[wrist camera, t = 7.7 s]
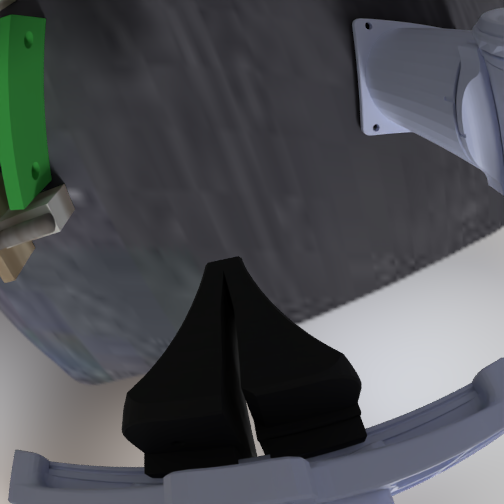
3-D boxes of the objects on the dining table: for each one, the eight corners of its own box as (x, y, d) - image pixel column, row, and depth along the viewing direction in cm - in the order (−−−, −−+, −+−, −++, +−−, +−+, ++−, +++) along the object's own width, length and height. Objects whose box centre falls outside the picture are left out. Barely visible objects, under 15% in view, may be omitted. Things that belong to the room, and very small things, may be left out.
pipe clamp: (2, 32, 11) (-38, 33, 8) (47, 18, 12) (11, 13, 8) (11, 183, 17) (-21, 213, 14) (52, 180, 18) (23, 210, 14)
